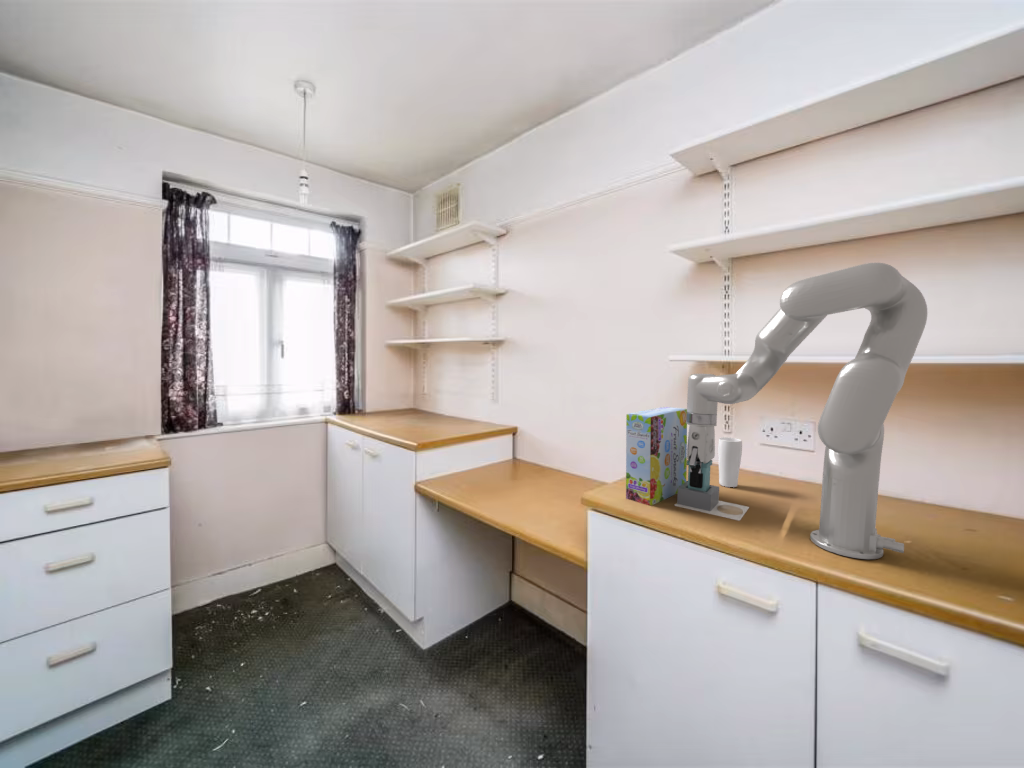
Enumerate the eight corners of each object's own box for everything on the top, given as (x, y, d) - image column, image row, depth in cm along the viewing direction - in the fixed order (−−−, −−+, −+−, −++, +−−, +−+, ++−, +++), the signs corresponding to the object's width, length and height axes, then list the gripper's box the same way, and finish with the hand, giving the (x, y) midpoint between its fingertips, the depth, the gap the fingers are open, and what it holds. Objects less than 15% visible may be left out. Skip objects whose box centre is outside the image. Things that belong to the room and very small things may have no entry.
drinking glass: (741, 484, 136) (743, 438, 134) (738, 490, 130) (741, 442, 129) (718, 480, 139) (720, 436, 138) (714, 486, 134) (716, 439, 133)
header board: (749, 510, 113) (750, 490, 113) (739, 524, 104) (740, 502, 104) (687, 497, 123) (688, 479, 123) (673, 508, 114) (674, 489, 114)
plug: (710, 502, 116) (712, 460, 115) (705, 508, 112) (707, 464, 111) (691, 498, 120) (692, 457, 119) (685, 503, 115) (686, 460, 115)
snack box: (660, 485, 134) (663, 405, 132) (687, 492, 128) (690, 408, 126) (622, 501, 120) (625, 412, 118) (650, 510, 113) (653, 415, 111)
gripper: (707, 424, 105) (704, 495, 107) (724, 417, 118) (721, 480, 120) (677, 421, 110) (674, 489, 111) (696, 414, 123) (693, 475, 124)
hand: (698, 484), depth 115 cm, fingers closed on plug, 4 cm apart
